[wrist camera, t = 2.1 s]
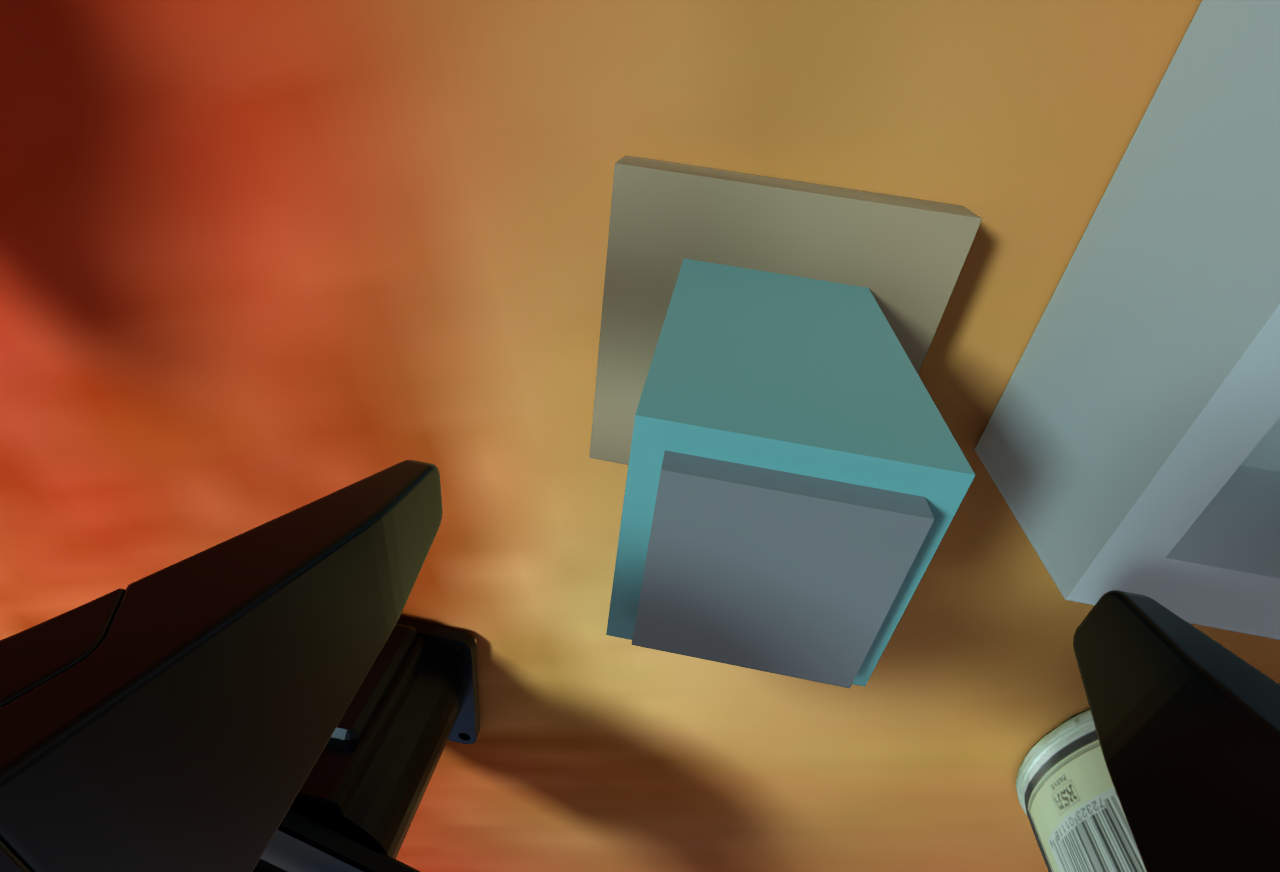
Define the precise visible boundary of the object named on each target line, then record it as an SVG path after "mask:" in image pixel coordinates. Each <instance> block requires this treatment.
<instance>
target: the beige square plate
mask: <svg viewBox="0 0 1280 872" xmlns="http://www.w3.org/2000/svg"><path fill="white" fill-rule="evenodd" d="M981 220H982V218H981V217H979V216H977V215H976V214H974V213H973V212H971V211H969V210H968V209H966V208H965V207H963V206H959V205H952V204H946V203H939V202H932V201H926V200H919V199H912V198H906V197H899V196H892V195H886V194H879V193H872V192H866V191H859V190H852V189H846V188H839V187H832V186H826V185H819V184H812V183H805V182H799V181H792V180H785V179H779V178H772V177H765V176H759V175H752V174H745V173H739V172H732V171H725V170H719V169H712V168H705V167H699V166H692V165H685V164H679V163H672V162H665V161H659V160H652V159H645V158H639V157H632V156H624V157H623V158H621V159H620V160H619V161H617V162H616V163H615V169H614V181H613V192H612V204H611V216H610V227H609V239H608V250H607V262H606V273H605V285H604V296H603V308H602V320H601V331H600V343H599V354H598V366H597V377H596V389H595V400H594V412H593V424H592V435H591V447H590V458H594V459H599V460H605V461H610V462H616V463H621V464H627V465H629V458H630V450H631V443H632V435H633V428H634V420H635V414H636V411H637V407H638V404H639V401H640V398H641V394H642V391H643V388H644V385H645V382H646V378H647V375H648V372H649V369H650V365H651V362H652V359H653V356H654V352H655V349H656V346H657V343H658V340H659V336H660V333H661V330H662V327H663V323H664V320H665V317H666V314H667V310H668V307H669V304H670V301H671V298H672V294H673V291H674V288H675V285H676V281H677V278H678V275H679V272H680V268H681V265H682V262H683V259H684V258H685V259H691V260H697V261H703V262H710V263H716V264H722V265H729V266H735V267H741V268H747V269H754V270H760V271H766V272H772V273H779V274H785V275H791V276H798V277H804V278H810V279H816V280H823V281H829V282H835V283H841V284H848V285H854V286H860V287H867V288H869V290H870V291H871V293H872V295H873V297H874V298H875V300H876V302H877V304H878V305H879V307H880V309H881V311H882V312H883V314H884V316H885V318H886V319H887V321H888V323H889V325H890V326H891V328H892V330H893V332H894V333H895V335H896V337H897V339H898V340H899V342H900V344H901V346H902V347H903V349H904V351H905V353H906V354H907V356H908V358H909V360H910V361H911V363H912V365H913V367H914V368H915V370H916V372H917V374H919V371H920V369H921V366H922V364H923V361H924V359H925V357H926V354H927V352H928V349H929V347H930V344H931V342H932V339H933V337H934V335H935V332H936V330H937V327H938V325H939V322H940V320H941V318H942V315H943V313H944V310H945V308H946V305H947V303H948V301H949V298H950V296H951V293H952V291H953V288H954V286H955V284H956V281H957V279H958V276H959V274H960V271H961V269H962V267H963V264H964V262H965V259H966V257H967V254H968V252H969V250H970V247H971V245H972V242H973V240H974V237H975V235H976V233H977V230H978V228H979V225H980V223H981Z"/></svg>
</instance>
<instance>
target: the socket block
mask: <svg viewBox="0 0 1280 872" xmlns="http://www.w3.org/2000/svg"><path fill="white" fill-rule="evenodd" d="M975 452H976V453H977V455H978V457H979V458H980V460H981V462H982V463H983V465H984V466H985V468H986V470H987V471H988V473H989V475H990V476H991V478H992V480H993V481H994V483H995V485H996V486H997V488H998V490H999V491H1000V493H1001V495H1002V496H1003V498H1004V500H1005V501H1006V503H1007V504H1008V506H1009V508H1010V509H1011V511H1012V513H1013V514H1014V516H1015V518H1016V519H1017V521H1018V523H1019V524H1020V526H1021V528H1022V529H1023V531H1024V533H1025V534H1026V536H1027V537H1028V539H1029V541H1030V542H1031V544H1032V546H1033V547H1034V549H1035V551H1036V552H1037V554H1038V556H1039V557H1040V559H1041V561H1042V562H1043V564H1044V566H1045V567H1046V569H1047V570H1048V572H1049V574H1050V575H1051V577H1052V579H1053V580H1054V582H1055V584H1056V585H1057V587H1058V589H1059V590H1060V592H1061V594H1062V595H1063V597H1064V599H1065V600H1069V601H1074V602H1080V603H1085V604H1090V605H1095V604H1096V603H1097V602H1098V600H1099V599H1100V598H1101V597H1102V596H1103V595H1104V594H1105V593H1107V592H1109V591H1112V590H1120V591H1125V592H1131V593H1136V594H1142V595H1145V596H1148V597H1150V598H1152V599H1154V600H1155V601H1157V602H1158V603H1160V604H1161V605H1163V606H1164V607H1166V608H1167V609H1168V610H1170V611H1171V612H1173V613H1174V614H1176V615H1177V616H1179V617H1180V618H1182V619H1183V620H1185V621H1186V622H1188V623H1192V624H1197V625H1203V626H1208V627H1213V628H1219V629H1224V630H1229V631H1235V632H1240V633H1245V634H1251V635H1256V636H1261V637H1267V638H1272V639H1277V640H1280V0H1202V2H1201V4H1200V6H1199V8H1198V10H1197V12H1196V14H1195V16H1194V18H1193V20H1192V22H1191V24H1190V26H1189V28H1188V30H1187V32H1186V34H1185V36H1184V38H1183V39H1182V41H1181V43H1180V45H1179V47H1178V49H1177V51H1176V53H1175V55H1174V57H1173V59H1172V61H1171V63H1170V65H1169V67H1168V69H1167V71H1166V73H1165V75H1164V77H1163V79H1162V81H1161V83H1160V85H1159V87H1158V89H1157V91H1156V93H1155V95H1154V97H1153V99H1152V101H1151V103H1150V105H1149V107H1148V109H1147V110H1146V112H1145V114H1144V116H1143V118H1142V120H1141V122H1140V124H1139V126H1138V128H1137V130H1136V132H1135V134H1134V136H1133V138H1132V140H1131V142H1130V144H1129V146H1128V148H1127V150H1126V152H1125V154H1124V156H1123V158H1122V160H1121V162H1120V164H1119V166H1118V168H1117V170H1116V172H1115V174H1114V176H1113V178H1112V180H1111V182H1110V183H1109V185H1108V187H1107V189H1106V191H1105V193H1104V195H1103V197H1102V199H1101V201H1100V203H1099V205H1098V207H1097V209H1096V211H1095V213H1094V215H1093V217H1092V219H1091V221H1090V223H1089V225H1088V227H1087V229H1086V231H1085V233H1084V235H1083V237H1082V239H1081V241H1080V243H1079V245H1078V247H1077V249H1076V251H1075V253H1074V254H1073V256H1072V258H1071V260H1070V262H1069V264H1068V266H1067V268H1066V270H1065V272H1064V274H1063V276H1062V278H1061V280H1060V282H1059V284H1058V286H1057V288H1056V290H1055V292H1054V294H1053V296H1052V298H1051V300H1050V302H1049V304H1048V306H1047V308H1046V310H1045V312H1044V314H1043V316H1042V318H1041V320H1040V322H1039V324H1038V325H1037V327H1036V329H1035V331H1034V333H1033V335H1032V337H1031V339H1030V341H1029V343H1028V345H1027V347H1026V349H1025V351H1024V353H1023V355H1022V357H1021V359H1020V361H1019V363H1018V365H1017V367H1016V369H1015V371H1014V373H1013V375H1012V377H1011V379H1010V381H1009V383H1008V385H1007V387H1006V389H1005V391H1004V393H1003V395H1002V397H1001V398H1000V400H999V402H998V404H997V406H996V408H995V410H994V412H993V414H992V416H991V418H990V420H989V422H988V424H987V426H986V428H985V430H984V432H983V434H982V436H981V438H980V440H979V442H978V444H977V446H976V448H975Z"/></svg>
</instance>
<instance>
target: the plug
mask: <svg viewBox="0 0 1280 872" xmlns="http://www.w3.org/2000/svg"><path fill="white" fill-rule="evenodd" d="M974 477H975V473H974V472H973V470H972V468H971V466H970V465H969V463H968V461H967V459H966V458H965V456H964V454H963V452H962V451H961V449H960V447H959V445H958V444H957V442H956V440H955V438H954V437H953V435H952V433H951V431H950V430H949V428H948V426H947V424H946V423H945V421H944V419H943V417H942V416H941V414H940V412H939V410H938V409H937V407H936V405H935V403H934V402H933V400H932V398H931V396H930V395H929V393H928V391H927V389H926V388H925V386H924V384H923V382H922V381H921V379H920V377H919V375H918V374H917V372H916V370H915V368H914V367H913V365H912V363H911V361H910V360H909V358H908V356H907V354H906V353H905V351H904V349H903V347H902V346H901V344H900V342H899V340H898V339H897V337H896V335H895V333H894V332H893V330H892V328H891V326H890V325H889V323H888V321H887V319H886V318H885V316H884V314H883V312H882V311H881V309H880V307H879V305H878V304H877V302H876V300H875V298H874V297H873V295H872V293H871V291H870V290H869V288H867V287H860V286H854V285H848V284H841V283H835V282H829V281H823V280H816V279H810V278H804V277H798V276H791V275H785V274H779V273H772V272H766V271H760V270H754V269H747V268H741V267H735V266H729V265H722V264H716V263H710V262H703V261H697V260H691V259H685V258H684V259H683V262H682V265H681V268H680V272H679V275H678V278H677V281H676V285H675V288H674V291H673V294H672V298H671V301H670V304H669V307H668V310H667V314H666V317H665V320H664V323H663V327H662V330H661V333H660V336H659V340H658V343H657V346H656V349H655V352H654V356H653V359H652V362H651V365H650V369H649V372H648V375H647V378H646V382H645V385H644V388H643V391H642V394H641V398H640V401H639V404H638V407H637V411H636V414H635V420H634V428H633V435H632V443H631V450H630V458H629V466H628V473H627V481H626V489H625V496H624V504H623V512H622V519H621V527H620V535H619V542H618V550H617V558H616V565H615V573H614V581H613V588H612V596H611V604H610V611H609V619H608V627H607V634H606V635H610V636H615V637H620V638H625V639H630V640H632V645H636V646H641V647H646V648H651V649H656V650H661V651H666V652H671V653H676V654H681V655H686V656H691V657H696V658H701V659H706V660H711V661H716V662H721V663H726V664H731V665H736V666H741V667H746V668H751V669H756V670H761V671H766V672H771V673H776V674H781V675H786V676H791V677H796V678H801V679H806V680H811V681H816V682H821V683H826V684H831V685H836V686H841V687H846V688H850V687H851V685H852V684H855V685H860V686H865V685H866V684H867V682H868V680H869V678H870V676H871V674H872V672H873V670H874V668H875V666H876V664H877V663H878V661H879V659H880V657H881V655H882V653H883V651H884V649H885V647H886V645H887V643H888V641H889V640H890V638H891V636H892V634H893V632H894V630H895V628H896V626H897V624H898V622H899V620H900V618H901V617H902V615H903V613H904V611H905V609H906V607H907V605H908V603H909V601H910V599H911V597H912V596H913V594H914V592H915V590H916V588H917V586H918V584H919V582H920V580H921V578H922V576H923V574H924V573H925V571H926V569H927V567H928V565H929V563H930V561H931V559H932V557H933V555H934V553H935V551H936V550H937V548H938V546H939V544H940V542H941V540H942V538H943V536H944V534H945V532H946V530H947V529H948V527H949V525H950V523H951V521H952V519H953V517H954V515H955V513H956V511H957V509H958V507H959V506H960V504H961V502H962V500H963V498H964V496H965V494H966V492H967V490H968V488H969V486H970V484H971V483H972V481H973V479H974Z"/></svg>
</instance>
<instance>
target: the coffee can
mask: <svg viewBox="0 0 1280 872" xmlns="http://www.w3.org/2000/svg"><path fill="white" fill-rule="evenodd" d="M1016 790H1017V795H1018V799H1019V802H1020V805H1021V806H1022V808H1023V810H1024V812H1025V813H1026V815H1027V816H1028V818H1029V821H1030V824H1031V826H1032V829H1033V832H1034V835H1035V837H1036V840H1037V843H1038V846H1039V848H1040V850H1041V853H1042V856H1043V858H1044V861H1045V863H1046V865H1047V868H1048V871H1049V872H1146V869H1145V866H1144V864H1143V861H1142V859H1141V856H1140V853H1139V851H1138V848H1137V846H1136V843H1135V840H1134V838H1133V835H1132V833H1131V830H1130V827H1129V825H1128V822H1127V820H1126V817H1125V814H1124V812H1123V809H1122V807H1121V804H1120V801H1119V799H1118V796H1117V793H1116V791H1115V788H1114V786H1113V783H1112V780H1111V777H1110V775H1109V772H1108V769H1107V766H1106V763H1105V760H1104V757H1103V753H1102V750H1101V747H1100V743H1099V740H1098V736H1097V732H1096V729H1095V725H1094V721H1093V718H1092V714H1091V710H1087V711H1085V712H1083V713H1081V714H1079V715H1076V716H1074V717H1071V718H1070V719H1069V720H1068V721H1066V722H1065V723H1063V724H1061V725H1060V726H1058V727H1057V728H1055V729H1054V730H1052V731H1051V732H1050V733H1048V734H1047V735H1045V736H1044V737H1043V738H1042V739H1041V740H1040V741H1039V742H1038V743H1037V744H1035V745H1034V746H1033V748H1032V749H1031V750H1030V751H1029V752H1028V754H1027V755H1026V757H1025V759H1024V760H1023V762H1022V764H1021V766H1020V768H1019V772H1018V776H1017V779H1016Z"/></svg>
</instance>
